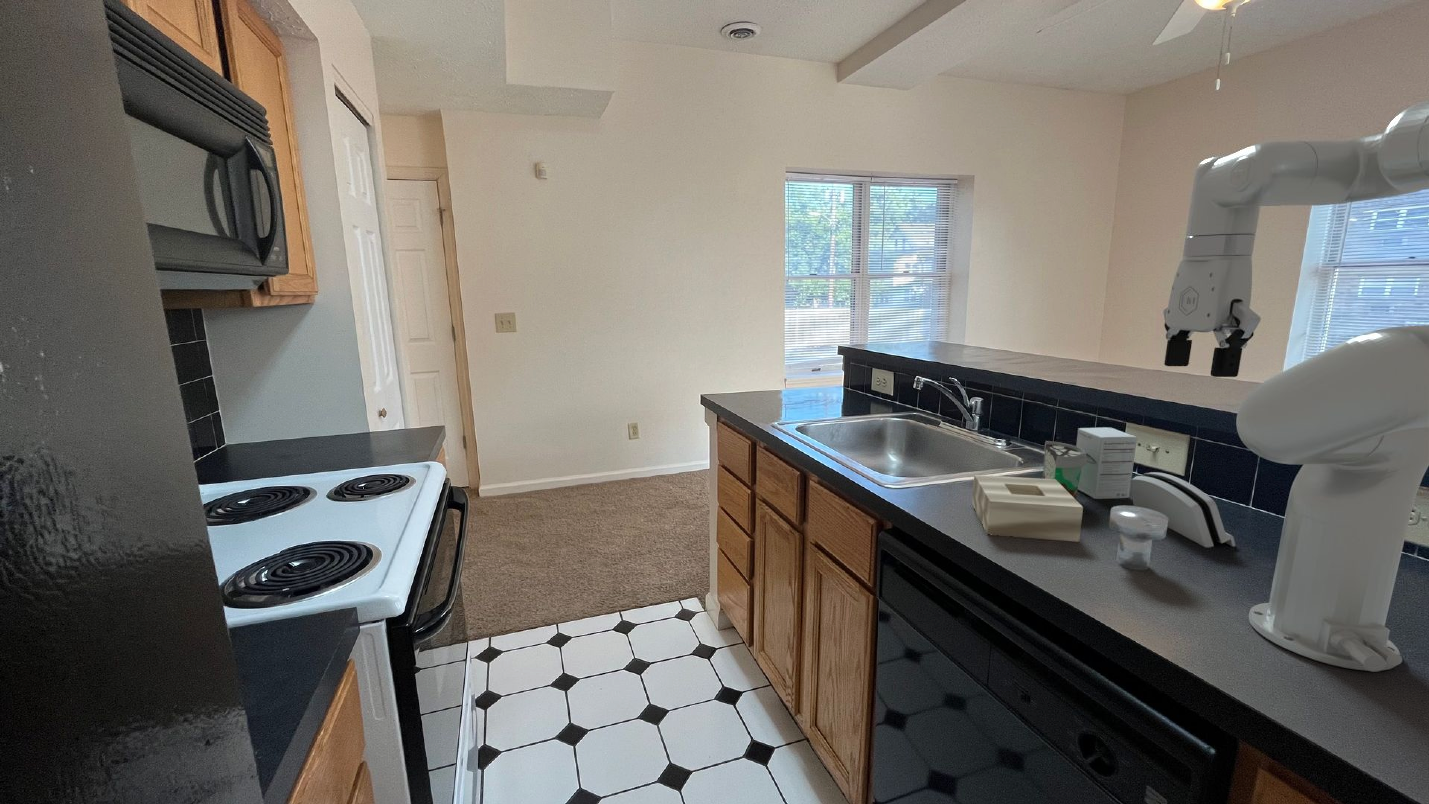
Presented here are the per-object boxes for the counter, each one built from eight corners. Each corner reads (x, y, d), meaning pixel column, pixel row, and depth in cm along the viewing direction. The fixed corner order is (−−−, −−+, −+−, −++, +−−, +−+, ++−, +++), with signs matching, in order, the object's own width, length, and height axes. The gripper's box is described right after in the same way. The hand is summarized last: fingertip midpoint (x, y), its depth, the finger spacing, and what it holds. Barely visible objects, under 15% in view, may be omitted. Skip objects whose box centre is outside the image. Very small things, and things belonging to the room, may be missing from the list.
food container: (1089, 511, 111) (1095, 459, 109) (1052, 508, 113) (1057, 457, 111) (1074, 489, 122) (1079, 442, 120) (1040, 486, 124) (1045, 440, 122)
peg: (1170, 577, 86) (1178, 525, 85) (1115, 572, 88) (1122, 521, 86) (1147, 555, 93) (1154, 507, 91) (1097, 552, 95) (1103, 504, 93)
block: (1079, 541, 98) (1083, 507, 97) (987, 534, 101) (990, 501, 100) (1052, 510, 112) (1055, 479, 110) (972, 504, 115) (974, 474, 114)
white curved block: (1237, 547, 96) (1225, 491, 94) (1208, 556, 96) (1196, 501, 94) (1160, 508, 112) (1148, 459, 110) (1135, 516, 112) (1123, 468, 110)
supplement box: (1069, 486, 124) (1076, 427, 121) (1104, 485, 124) (1112, 426, 122) (1093, 499, 117) (1101, 436, 114) (1130, 498, 117) (1138, 435, 114)
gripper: (1150, 252, 92) (1135, 362, 96) (1236, 247, 75) (1214, 381, 79) (1201, 251, 92) (1185, 362, 95) (1300, 246, 75) (1275, 381, 78)
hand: (1198, 371), depth 87 cm, fingers open, 9 cm apart
